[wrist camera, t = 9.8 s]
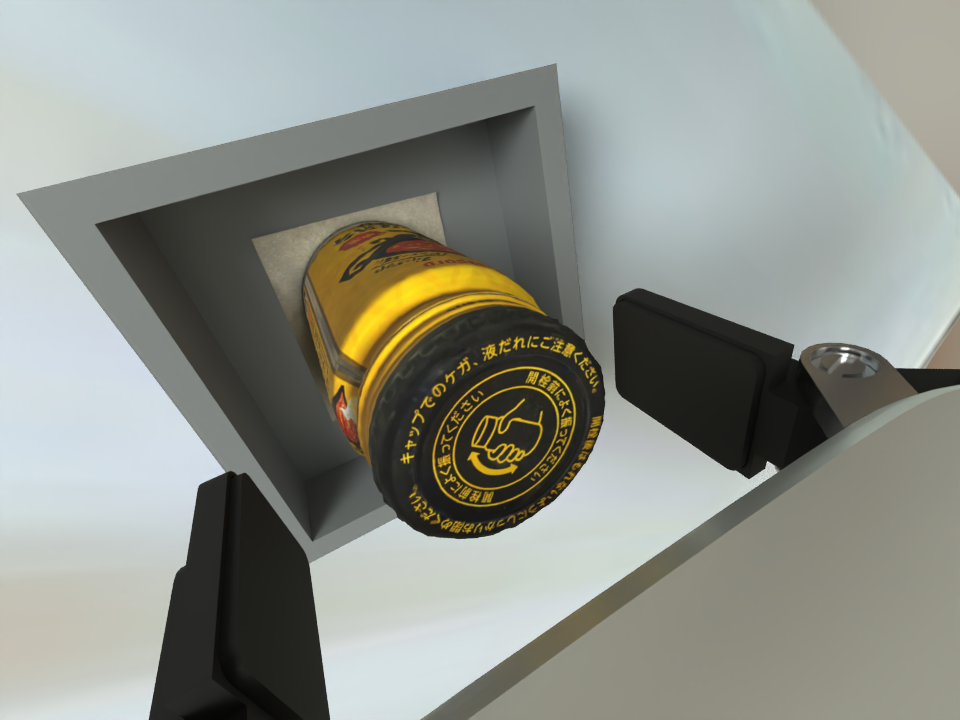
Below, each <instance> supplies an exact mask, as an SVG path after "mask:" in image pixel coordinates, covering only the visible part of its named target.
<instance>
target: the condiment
mask: <svg viewBox="0 0 960 720" xmlns="http://www.w3.org/2000/svg"><path fill="white" fill-rule="evenodd" d="M251 240H252V242H253V244H254V246H255V249H256V251H257V253H258V255H259V257H260V260H261V262H262V264H263V266H264V268H265V271H266V273H267V275H268V277H269V279H270V282H271V284H272V286H273V288H274V291H275V293H276V295H277V298H278V300H279V302H280V304H281V306H282V308H283V311H284V313H285V315H286V318H287V320H288V322H289V324H290V326H291V329H292V331H293V333H294V336H295V338H296V340H297V343H298V345H299V347H300V349H301V352H302V354H303V356H304V359H305V361H306V362H307V365H308V367H309V369H310V372H311V374H312V376H313V378H314V381H315V383H316V385H317V388H318V390H319V392H320V394H321V396H322V399H323V401H324V403H325V406H326V408H327V410H328V412H329V414H330V417H331V419H332V421H335V420H337V421H338V423H339V426H340V429H341V431H342V432H343V433H344V434H345V436H346V438H347V440H348V442H349V444H350V445H351V446H352V447H353V448H354V450H355V451H356V452H357V453H359V454H360V455H362V456H363V457H364V458H366V460H367V461H368V464H369V465H370V466H371V468H372V474H373V480H374V482H375V484H376V486H377V488H378V490H379V492H380V493H381V494H382V496H383V501H384V503H386V504H387V505H388V506H389V507H390V508H392V509H393V510H394V511H395V512H396V515H397V517H398V518H399V519H400V520H401V521H404V522H406V523H407V524H408V525H409V526H410V527H412V528H413V529H414V530H416V531H418V532H421V533H423V534H425V535H427V536H434V537H440V538H455V539H467V538H479V537H485V536H490V535H494V534H496V533H499V532H501V531H502V530H505V529H508V528H513V527H516V526H517V525H519V524H520V523H522V522H524V521H525V520H526V519H528V518H530V517H532V516H533V515H535V514H536V513H537V512H538V511H540V510H541V509H542V508H544V507H546V506H547V505H549V504H550V503H551V502H553V501H554V500H555V499H556V498H557V497H558V496H559V495H560V494H561V493H562V492H563V491H564V489H565V488H566V487H567V486H568V485H569V484H570V483H571V481H572V480H573V479H574V477H575V476H576V475H577V473H578V472H579V471H580V469H581V468H582V466H583V465H584V464H585V463H586V461H587V460H588V457H589V455H590V453H591V452H592V451H593V447H594V445H595V443H596V440H597V437H598V435H599V432H600V429H601V426H602V423H603V415H604V408H605V398H604V397H605V389H604V383H603V375H602V371H601V366H600V365H599V363H598V362H597V361H596V360H595V359H594V357H593V356H592V354H591V353H590V352H589V350H588V348H587V346H586V344H585V341H584V339H582V338H581V337H580V336H578V335H577V334H576V333H575V332H574V331H573V330H572V329H570V328H569V327H567V326H565V325H562V324H561V323H559V321H558V319H554V318H551V317H549V316H547V315H546V314H545V313H544V312H543V311H542V310H540V308H539V307H538V306H537V304H536V303H535V301H534V298H533V297H532V296H530V295H529V294H528V293H527V292H526V291H525V290H524V289H523V288H522V287H521V286H520V285H519V284H517V283H516V282H515V281H513V280H511V279H510V278H509V277H508V276H506V275H505V274H503V273H501V272H500V271H499V270H497V269H496V268H492V267H490V266H489V265H487V264H485V263H481V262H480V261H478V260H474V259H471V258H469V257H467V256H465V255H463V254H461V253H459V252H457V251H455V250H453V249H451V248H449V247H447V245H446V241H445V236H444V231H443V226H442V222H441V218H440V213H439V207H438V203H437V195H436V192H434V193H430V194H426V195H422V196H418V197H414V198H411V199H406V200H402V201H398V202H394V203H390V204H386V205H382V206H378V207H374V208H370V209H366V210H362V211H358V212H354V213H350V214H346V215H343V216H339V217H335V218H331V219H327V220H323V221H319V222H315V223H311V224H308V225H304V226H299V227H297V228H294V229H289V230H285V231H281V232H277V233H273V234H269V235H265V236H261V237H257V238H253V239H251Z"/></svg>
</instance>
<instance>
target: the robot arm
mask: <svg viewBox="0 0 960 720" xmlns="http://www.w3.org/2000/svg"><path fill="white" fill-rule="evenodd" d="M613 328H614V355H615V382H616V389H617V391H618V393H619V394H620V395H621V396H622V397H623V398H624V399H626V400H627V401H629V402H630V403H632V404H633V405H635V406H636V407H637V408H639V409H640V410H642V411H643V412H645V413H646V414H648V415H649V416H651V417H652V418H654V419H655V420H657V421H658V422H659V423H661V424H662V425H664V426H665V427H667V428H668V429H670V430H671V431H673V432H674V433H676V434H677V435H678V436H680V437H681V438H683V439H684V440H686V441H687V442H689V443H690V444H692V445H693V446H695V447H696V448H698V449H699V450H700V451H702V452H703V453H705V454H706V455H708V456H709V457H711V458H712V459H714V460H715V461H717V462H718V463H720V464H721V465H722V466H724V467H725V468H727V469H729V470H733V471H734V470H736V471H738V472H739V473H741V474H742V475H744V476H745V477H747V478H748V479H750V478H752V477H753V476H755V475H756V474H758V473H759V472H761V471H762V470H764V469H765V467H766V463H767V461H768V462H770V463H772V464H773V465H775V469H776V471H777V473H776V474H775V475H773V476H772V477H771V478H769V479H768V480H766V481H765V482H763V483H762V484H760V485H759V486H757V487H756V488H754V489H753V490H751V491H750V492H748V493H747V494H745V495H744V496H743V497H741V498H740V499H738V500H737V501H735V502H734V503H732V504H731V505H729V506H728V507H726V508H725V509H723V510H722V511H720V512H719V513H717V514H716V515H715V516H713V517H712V518H710V519H709V520H707V521H706V522H704V523H703V524H701V525H700V526H698V527H697V528H696V529H694V530H693V531H691V532H690V533H688V534H687V535H685V536H684V537H682V538H681V539H679V540H678V541H677V542H675V543H674V544H672V545H671V546H669V547H668V548H666V549H665V550H663V551H662V552H661V553H659V554H658V555H656V556H655V557H653V558H652V559H650V560H649V561H647V562H646V563H645V564H643V565H642V566H640V567H639V568H637V569H636V570H634V571H633V572H631V573H630V574H629V575H627V576H626V577H624V578H623V579H621V580H620V581H618V582H617V583H615V584H614V585H613V586H611V587H610V588H608V589H607V590H605V591H604V592H602V593H601V594H599V595H598V596H597V597H595V598H594V599H592V600H591V601H589V602H588V603H586V604H585V605H584V606H582V607H581V608H579V609H578V610H576V611H575V612H573V613H572V614H571V615H569V616H568V617H566V618H565V619H563V620H562V621H560V622H559V623H558V624H556V625H555V626H553V627H552V628H550V629H549V630H547V631H546V632H545V633H543V634H542V635H540V636H539V637H537V638H536V639H535V640H533V641H532V642H530V643H529V644H527V645H526V646H524V647H523V648H522V649H520V650H519V651H517V652H516V653H514V654H513V655H511V656H510V657H509V658H507V659H506V660H504V661H503V662H501V663H500V664H499V665H497V666H496V667H494V668H493V669H491V670H490V671H488V672H487V673H486V674H484V675H483V676H481V677H480V678H478V679H477V680H475V681H474V682H473V683H471V684H470V685H468V686H467V687H465V688H464V689H463V690H461V691H460V692H458V693H457V694H456V695H454V696H453V697H451V698H450V699H449V700H447V701H446V702H444V703H443V704H442V705H440V706H439V707H438V708H436V709H435V710H433V711H432V712H431V713H429V714H428V715H426V716H425V717H424V718H422V719H421V720H960V369H906V368H894V367H893V366H892V365H891V364H890V363H889V362H888V361H887V360H886V359H885V358H884V357H882V356H881V355H880V354H878V353H876V352H873V351H871V350H869V349H866V348H863V347H859V346H856V345H850V344H844V343H823V344H816V345H813V346H810V347H808V348H806V349H805V350H803V351H802V353H801V356H800V359H799V361H797V360H794V359H792V358H791V357H792V353H793V349H794V345H793V344H791V343H788V342H785V341H783V340H780V339H777V338H774V337H772V336H769V335H766V334H764V333H761V332H758V331H755V330H753V329H750V328H747V327H745V326H742V325H739V324H736V323H734V322H731V321H728V320H726V319H723V318H720V317H718V316H715V315H712V314H709V313H707V312H704V311H701V310H699V309H696V308H693V307H690V306H688V305H685V304H682V303H680V302H677V301H674V300H671V299H669V298H666V297H663V296H661V295H658V294H655V293H653V292H650V291H647V290H644V289H641V288H637V289H634V290H632V291H630V292H628V293H625V294H623V295H621V296H619V297H618V298H617V300H616V304H615V305H614V307H613ZM149 720H330V715H329V708H328V700H327V693H326V686H325V678H324V671H323V663H322V656H321V649H320V641H319V634H318V626H317V619H316V612H315V604H314V597H313V589H312V582H311V574H310V567H309V562H308V558H307V556H306V553H305V551H304V550H303V548H302V547H301V545H300V544H299V543H298V541H297V540H296V539H295V537H294V536H293V534H292V533H291V532H290V530H289V529H288V528H287V526H286V525H285V524H284V522H283V521H282V520H281V518H280V517H279V515H278V514H277V513H276V511H275V510H274V509H273V507H272V506H271V505H270V503H269V502H268V501H267V499H266V498H265V496H264V495H263V494H262V492H261V491H260V490H259V488H258V487H257V486H256V484H255V483H254V482H253V480H252V479H251V477H250V476H249V475H248V474H247V473H242V474H239V475H237V474H236V473H235V472H233V471H229V472H226V473H224V474H222V475H220V476H217V477H215V478H213V479H211V480H209V481H206V482H204V483H202V484H201V485H199V488H198V492H197V498H196V505H195V511H194V517H193V524H192V530H191V536H190V543H189V549H188V555H187V562H186V566H184V567H182V568H180V570H179V571H178V572H177V573H176V576H175V579H174V583H173V589H172V594H171V600H170V605H169V611H168V616H167V622H166V627H165V633H164V639H163V644H162V650H161V655H160V661H159V666H158V672H157V677H156V683H155V688H154V694H153V700H152V705H151V711H150V716H149Z"/></svg>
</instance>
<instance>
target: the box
mask: <svg viewBox="0 0 960 720" xmlns="http://www.w3.org/2000/svg"><path fill="white" fill-rule="evenodd" d="M434 192H436V195H437V203H438V207H439V213H440V218H441V222H442V226H443V231H444V236H445V241H446V245H447V247H449V248H451V249H453V250H455V251H457V252H459V253H461V254H463V255H465V256H467V257H469V258H471V259H474V260H478V261H480V262H481V263H485V264H487V265H489V266H490V267H492V268H496V269H497V270H499V271H500V272H501V273H503V274H505V275H506V276H508V277H509V278H510V279H511V280H513V281H515V282H516V283H517V284H519V285H520V286H521V287H522V288H523V289H524V290H525V291H526V292H527V293H528V294H529V295H530V296H532V297H533V298H534V301H535V303H536V304H537V306H538V307H539V308H540V310H542V311H543V312H544V313H545V314H546V315H547V316H549V317H551V318H554V319H558V321H559V323H561V324H562V325H565V326H567V327H569V328H570V329H572V330H573V331H574V332H575V333H576V334H577V335H578V336H580V337H581V338H582V339H584V329H583V319H582V310H581V300H580V290H579V280H578V271H577V261H576V251H575V241H574V232H573V222H572V212H571V202H570V193H569V183H568V173H567V163H566V154H565V144H564V134H563V124H562V115H561V105H560V95H559V85H558V76H557V66H556V64H552V65H548V66H544V67H540V68H535V69H531V70H527V71H523V72H519V73H515V74H511V75H506V76H502V77H498V78H494V79H490V80H486V81H482V82H477V83H473V84H469V85H465V86H461V87H457V88H453V89H448V90H444V91H440V92H436V93H432V94H428V95H424V96H420V97H415V98H411V99H407V100H403V101H399V102H395V103H391V104H386V105H382V106H378V107H374V108H370V109H366V110H362V111H357V112H353V113H349V114H345V115H341V116H337V117H333V118H329V119H324V120H320V121H316V122H312V123H308V124H304V125H300V126H295V127H291V128H287V129H283V130H279V131H275V132H271V133H266V134H262V135H258V136H254V137H250V138H246V139H242V140H238V141H233V142H229V143H225V144H221V145H217V146H213V147H209V148H204V149H200V150H196V151H192V152H188V153H184V154H180V155H175V156H171V157H167V158H163V159H159V160H155V161H151V162H147V163H142V164H138V165H134V166H130V167H126V168H122V169H118V170H113V171H109V172H105V173H101V174H97V175H93V176H89V177H84V178H80V179H76V180H72V181H68V182H64V183H60V184H55V185H51V186H47V187H43V188H39V189H35V190H31V191H27V192H22V193H18V194H17V196H18V197H19V198H20V200H21V201H22V202H23V204H24V205H25V206H26V208H27V209H28V210H29V212H30V213H31V214H32V216H33V217H34V218H35V220H36V221H37V222H38V224H39V225H40V226H41V228H42V229H43V230H44V232H45V233H46V234H47V236H48V237H49V238H50V240H51V241H52V242H53V244H54V245H55V246H56V248H57V249H58V250H59V252H60V253H61V254H62V255H63V257H64V258H65V259H66V261H67V262H68V263H69V265H70V266H71V267H72V269H73V270H74V271H75V273H76V274H77V275H78V277H79V278H80V279H81V281H82V282H83V283H84V285H85V286H86V287H87V289H88V290H89V291H90V293H91V294H92V295H93V297H94V298H95V299H96V301H97V302H98V303H99V305H100V306H101V307H102V309H103V310H104V311H105V313H106V314H107V315H108V317H109V318H110V319H111V321H112V322H113V323H114V325H115V326H116V327H117V329H118V330H119V331H120V333H121V334H122V335H123V337H124V338H125V339H126V340H127V342H128V343H129V344H130V346H131V347H132V348H133V350H134V351H135V352H136V354H137V355H138V356H139V358H140V359H141V360H142V362H143V363H144V364H145V366H146V367H147V368H148V370H149V371H150V372H151V374H152V375H153V376H154V378H155V379H156V380H157V382H158V383H159V384H160V386H161V387H162V388H163V390H164V391H165V392H166V394H167V395H168V396H169V398H170V399H171V400H172V402H173V403H174V404H175V406H176V407H177V408H178V410H179V411H180V412H181V414H182V415H183V416H184V418H185V419H186V420H187V421H188V423H189V424H190V425H191V427H192V428H193V429H194V431H195V432H196V433H197V435H198V436H199V437H200V439H201V440H202V441H203V443H204V444H205V445H206V447H207V448H208V449H209V451H210V452H211V453H212V455H213V456H214V457H215V459H216V460H217V461H218V463H219V464H220V465H221V467H222V468H223V469H224V471H225V472H229V471H233V472H235V473H236V474H237V475H239V474H242V473H247V474H248V475H249V476H250V477H251V479H252V480H253V482H254V483H255V484H256V486H257V487H258V488H259V490H260V491H261V492H262V494H263V495H264V496H265V498H266V499H267V501H268V502H269V503H270V505H271V506H272V507H273V509H274V510H275V511H276V513H277V514H278V515H279V517H280V518H281V520H282V521H283V522H284V524H285V525H286V526H287V528H288V529H289V530H290V532H291V533H292V534H293V536H294V537H295V539H296V540H297V541H298V543H299V544H300V545H301V547H302V548H303V550H304V551H305V553H306V556H307V558H308V562H309V563H311V562H313V561H315V560H317V559H318V558H320V557H322V556H324V555H326V554H328V553H330V552H332V551H334V550H336V549H338V548H340V547H341V546H343V545H345V544H347V543H349V542H351V541H353V540H355V539H357V538H359V537H361V536H362V535H364V534H366V533H368V532H370V531H372V530H374V529H376V528H378V527H380V526H382V525H384V524H385V523H387V522H389V521H391V520H393V519H395V518H397V515H396V512H395V511H394V510H393V509H392V508H390V507H389V506H388V505H387V504H386V503H384V501H383V496H382V494H381V493H380V492H379V490H378V488H377V486H376V484H375V482H374V480H373V474H372V468H371V466H370V465H369V464H368V461H367V460H366V458H364V457H363V456H362V455H360V454H359V453H357V452H356V451H355V450H354V448H353V447H352V446H351V445H350V444H349V442H348V440H347V438H346V436H345V434H344V433H343V432H342V431H341V429H340V426H339V423H338V421H337V420H335V421H332V419H331V417H330V414H329V412H328V410H327V408H326V406H325V403H324V401H323V399H322V396H321V394H320V392H319V390H318V388H317V385H316V383H315V381H314V378H313V376H312V374H311V372H310V369H309V367H308V365H307V362H306V361H305V359H304V356H303V354H302V352H301V349H300V347H299V345H298V343H297V340H296V338H295V336H294V333H293V331H292V329H291V326H290V324H289V322H288V320H287V318H286V315H285V313H284V311H283V308H282V306H281V304H280V302H279V300H278V298H277V295H276V293H275V291H274V288H273V286H272V284H271V282H270V279H269V277H268V275H267V273H266V271H265V268H264V266H263V264H262V262H261V260H260V257H259V255H258V253H257V251H256V249H255V246H254V244H253V242H252V240H251V239H253V238H257V237H261V236H265V235H269V234H273V233H277V232H281V231H285V230H289V229H294V228H297V227H299V226H304V225H308V224H311V223H315V222H319V221H323V220H327V219H331V218H335V217H339V216H343V215H346V214H350V213H354V212H358V211H362V210H366V209H370V208H374V207H378V206H382V205H386V204H390V203H394V202H398V201H402V200H406V199H411V198H414V197H418V196H422V195H426V194H430V193H434ZM584 341H585V339H584Z"/></svg>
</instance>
